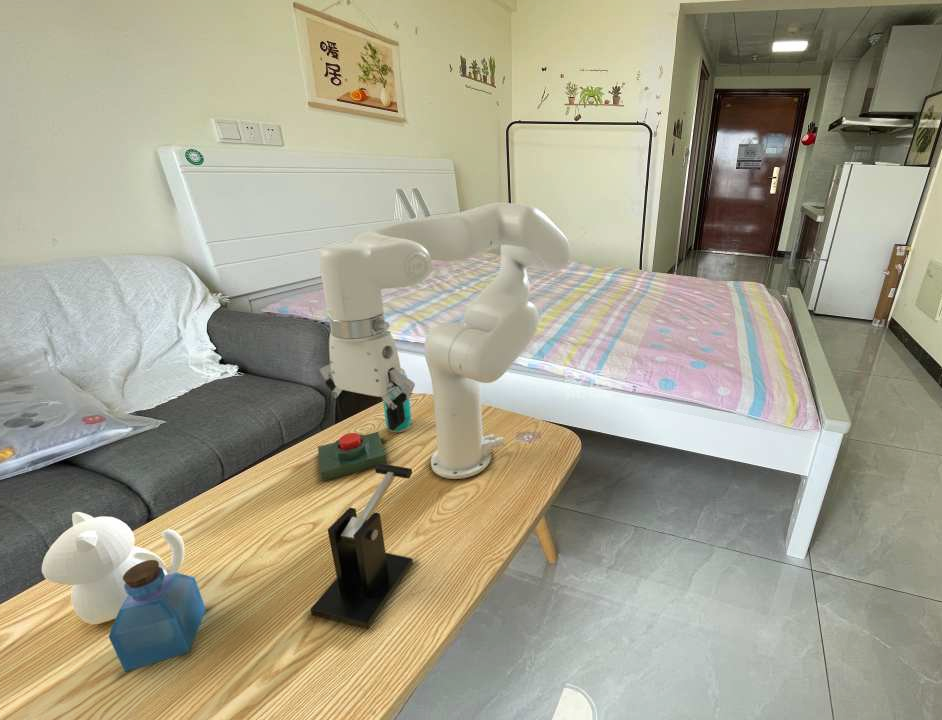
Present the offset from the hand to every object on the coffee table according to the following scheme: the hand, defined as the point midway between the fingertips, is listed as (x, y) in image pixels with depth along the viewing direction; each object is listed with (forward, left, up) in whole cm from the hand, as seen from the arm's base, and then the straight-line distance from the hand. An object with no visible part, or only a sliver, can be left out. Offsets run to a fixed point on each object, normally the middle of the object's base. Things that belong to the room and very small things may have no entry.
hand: (372, 420), depth 73 cm
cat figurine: (+33, -1, -20) cm, 39 cm away
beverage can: (-8, -29, -20) cm, 36 cm away
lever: (+2, +11, -9) cm, 14 cm away
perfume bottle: (+28, +9, -20) cm, 36 cm away
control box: (+3, -21, -20) cm, 29 cm away
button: (+3, -21, -16) cm, 27 cm away
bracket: (+5, +14, -20) cm, 25 cm away
